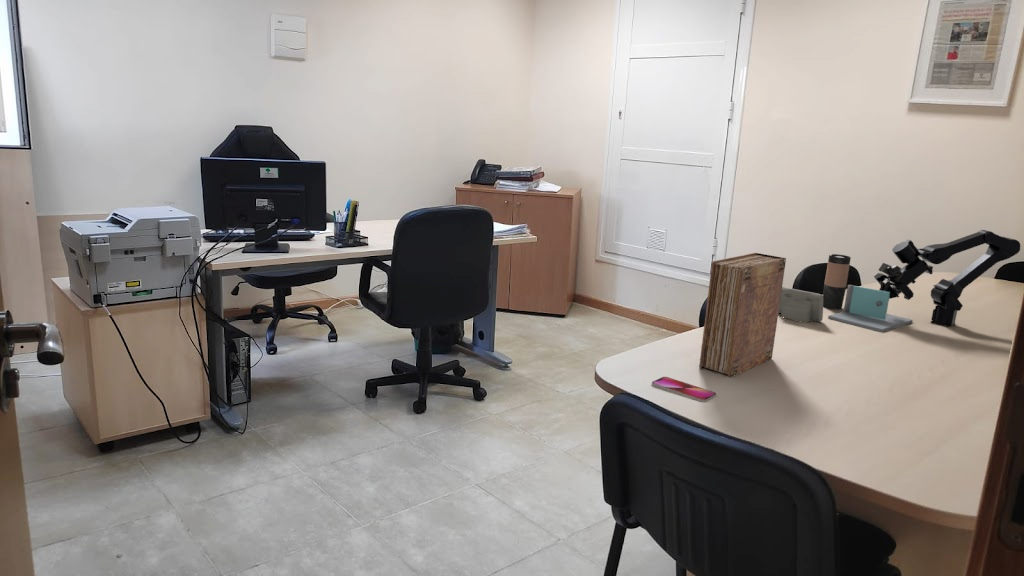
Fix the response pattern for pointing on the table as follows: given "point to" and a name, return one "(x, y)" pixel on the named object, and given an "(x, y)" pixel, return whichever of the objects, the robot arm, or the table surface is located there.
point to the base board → (871, 321)
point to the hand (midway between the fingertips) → (873, 301)
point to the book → (741, 312)
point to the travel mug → (835, 281)
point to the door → (866, 302)
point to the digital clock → (801, 305)
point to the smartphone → (683, 389)
